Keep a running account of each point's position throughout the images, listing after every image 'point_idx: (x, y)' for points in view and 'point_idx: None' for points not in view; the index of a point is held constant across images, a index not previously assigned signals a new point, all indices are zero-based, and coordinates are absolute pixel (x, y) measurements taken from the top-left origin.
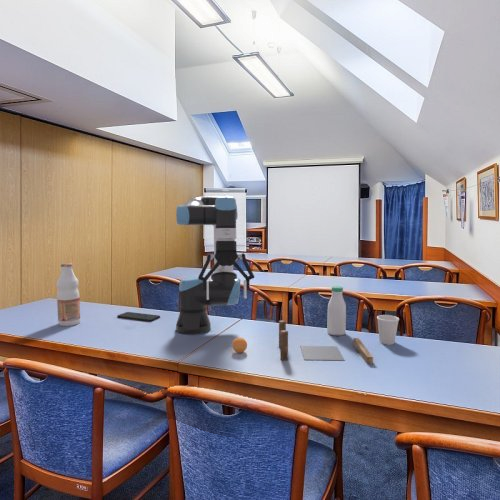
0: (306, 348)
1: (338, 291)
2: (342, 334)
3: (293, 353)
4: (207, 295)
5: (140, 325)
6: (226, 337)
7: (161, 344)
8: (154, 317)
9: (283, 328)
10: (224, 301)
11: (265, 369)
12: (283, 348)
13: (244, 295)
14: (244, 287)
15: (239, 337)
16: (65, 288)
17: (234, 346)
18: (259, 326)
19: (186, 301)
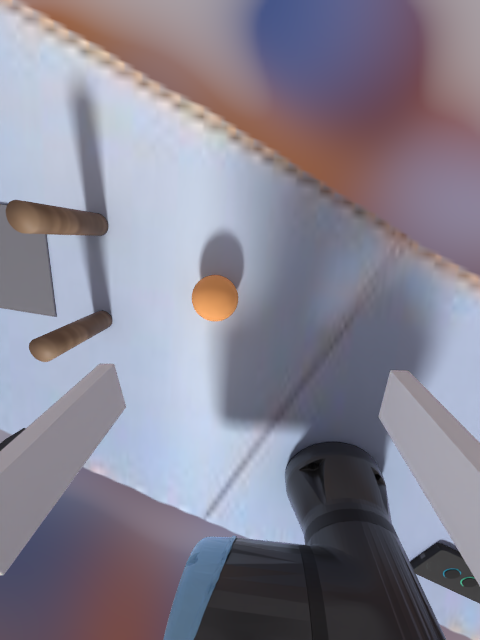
0: (38, 295)
1: None
2: None
3: (73, 266)
4: (424, 393)
5: None
6: (248, 407)
7: (435, 382)
8: (429, 562)
9: (55, 330)
10: (244, 547)
11: (151, 145)
12: (73, 209)
13: (100, 380)
14: (43, 432)
15: (211, 308)
16: None
17: (231, 283)
18: (159, 467)
19: (399, 566)
